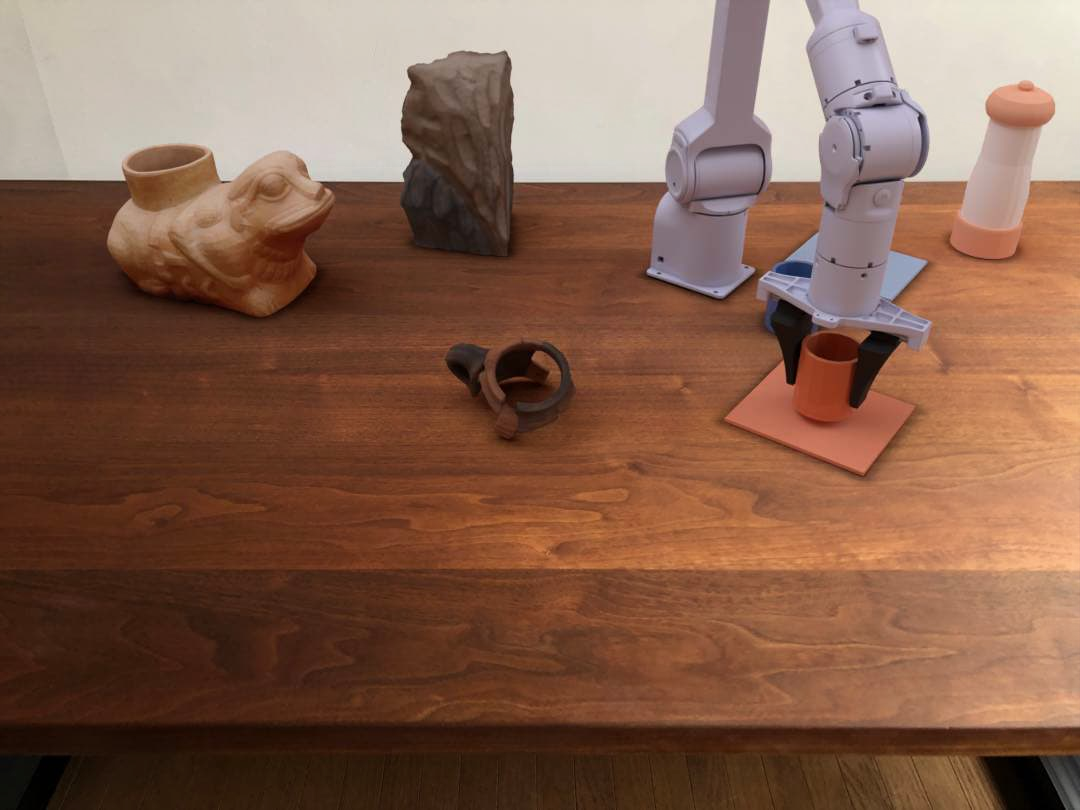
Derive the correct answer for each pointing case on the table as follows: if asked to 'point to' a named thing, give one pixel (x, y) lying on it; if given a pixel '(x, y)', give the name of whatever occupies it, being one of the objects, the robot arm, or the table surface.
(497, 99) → the grey brown rock
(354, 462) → the table surface
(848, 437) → the coral mat
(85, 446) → the table surface
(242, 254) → the ceramic vessel
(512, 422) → the dark brown ring-shaped piece
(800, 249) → the blue mat
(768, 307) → the blue cup
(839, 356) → the terracotta cup
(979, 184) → the salt shaker
